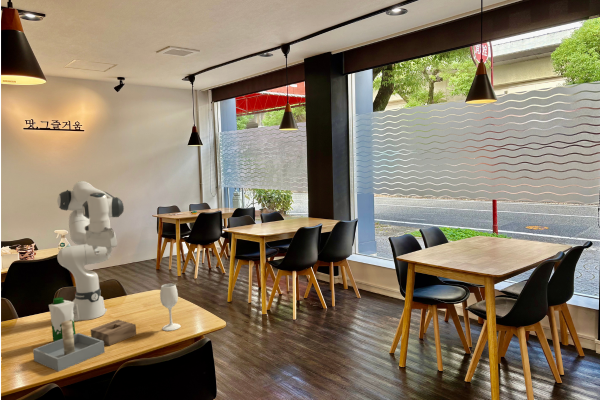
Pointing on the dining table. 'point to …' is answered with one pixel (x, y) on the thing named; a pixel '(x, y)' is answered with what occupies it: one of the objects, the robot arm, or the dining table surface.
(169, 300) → the wineglass
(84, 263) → the robot arm
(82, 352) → the tray
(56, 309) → the milk carton
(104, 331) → the socket block
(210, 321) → the dining table surface
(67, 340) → the dowel
